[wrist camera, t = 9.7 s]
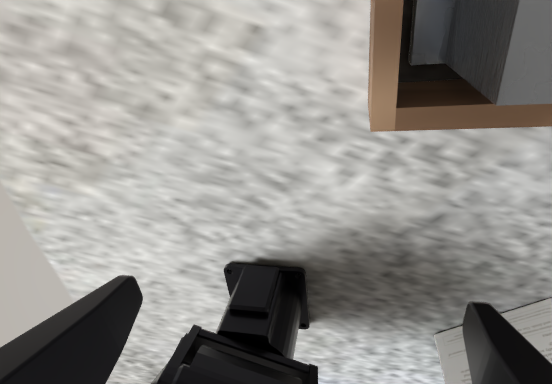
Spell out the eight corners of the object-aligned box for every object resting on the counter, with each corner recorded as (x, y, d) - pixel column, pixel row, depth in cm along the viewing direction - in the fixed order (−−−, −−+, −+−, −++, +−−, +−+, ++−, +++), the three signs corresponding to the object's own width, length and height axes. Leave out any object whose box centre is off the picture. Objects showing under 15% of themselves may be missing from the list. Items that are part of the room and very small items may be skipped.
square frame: (557, 93, 17) (615, 124, 13) (367, 103, 19) (370, 131, 15) (631, -156, 12) (753, -221, 9) (373, -109, 14) (379, -144, 11)
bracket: (518, 53, 16) (638, 100, 9) (408, 60, 17) (441, 107, 10) (549, -78, 14) (742, -145, 7) (418, -59, 15) (471, -101, 8)
